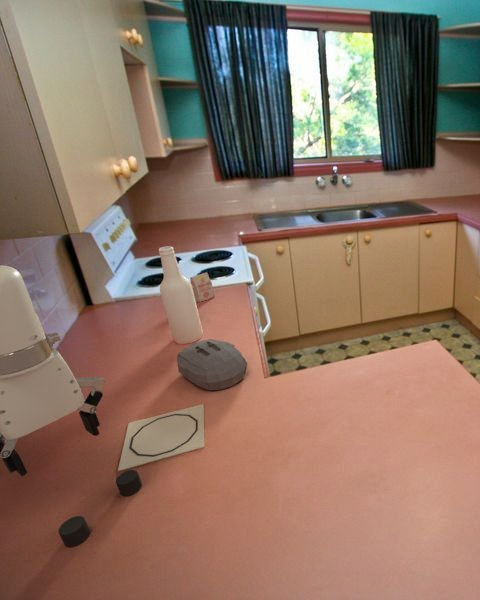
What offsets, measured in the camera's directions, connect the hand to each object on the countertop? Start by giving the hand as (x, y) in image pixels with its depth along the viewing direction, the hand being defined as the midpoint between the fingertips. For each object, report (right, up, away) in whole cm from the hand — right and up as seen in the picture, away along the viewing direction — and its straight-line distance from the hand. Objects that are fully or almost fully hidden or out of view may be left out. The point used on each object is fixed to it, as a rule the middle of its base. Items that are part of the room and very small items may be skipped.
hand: (59, 450), depth 66 cm
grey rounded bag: (+2, +3, +51) cm, 51 cm away
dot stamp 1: (-2, -17, +6) cm, 18 cm away
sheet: (0, -7, +29) cm, 30 cm away
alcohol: (-15, +11, +71) cm, 73 cm away
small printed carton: (-24, +24, +100) cm, 106 cm away
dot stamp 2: (+2, -13, +15) cm, 20 cm away
